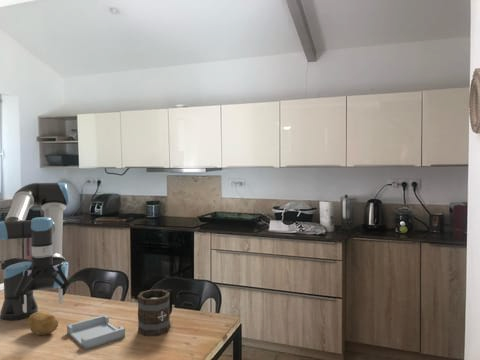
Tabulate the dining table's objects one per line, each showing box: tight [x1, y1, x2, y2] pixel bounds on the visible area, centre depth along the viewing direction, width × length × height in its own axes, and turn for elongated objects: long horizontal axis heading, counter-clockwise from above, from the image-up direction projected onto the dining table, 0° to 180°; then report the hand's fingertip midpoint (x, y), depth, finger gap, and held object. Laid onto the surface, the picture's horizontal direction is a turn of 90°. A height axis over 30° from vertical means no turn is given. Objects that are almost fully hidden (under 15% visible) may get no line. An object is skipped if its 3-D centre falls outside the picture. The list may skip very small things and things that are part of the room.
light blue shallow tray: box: [66, 314, 126, 351], centre depth 158 cm, size 19×16×4 cm
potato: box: [27, 311, 59, 336], centre depth 160 cm, size 10×14×8 cm
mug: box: [137, 288, 174, 337], centre depth 166 cm, size 20×14×15 cm
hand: (43, 307), depth 159 cm, fingers open, 13 cm apart
